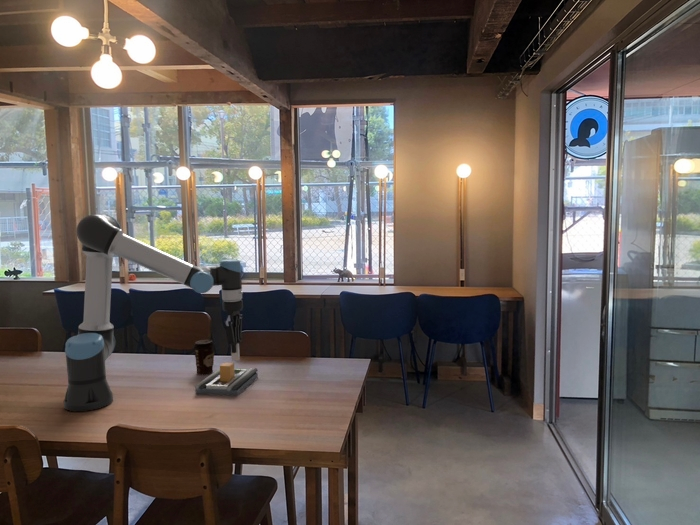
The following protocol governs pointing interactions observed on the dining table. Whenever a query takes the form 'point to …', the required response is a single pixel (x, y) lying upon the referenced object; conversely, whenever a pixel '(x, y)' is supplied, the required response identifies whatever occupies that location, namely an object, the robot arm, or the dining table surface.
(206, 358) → the coffee cup
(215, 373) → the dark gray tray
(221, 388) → the panel
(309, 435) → the dining table surface
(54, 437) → the dining table surface
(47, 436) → the dining table surface
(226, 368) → the tan rectangular block
